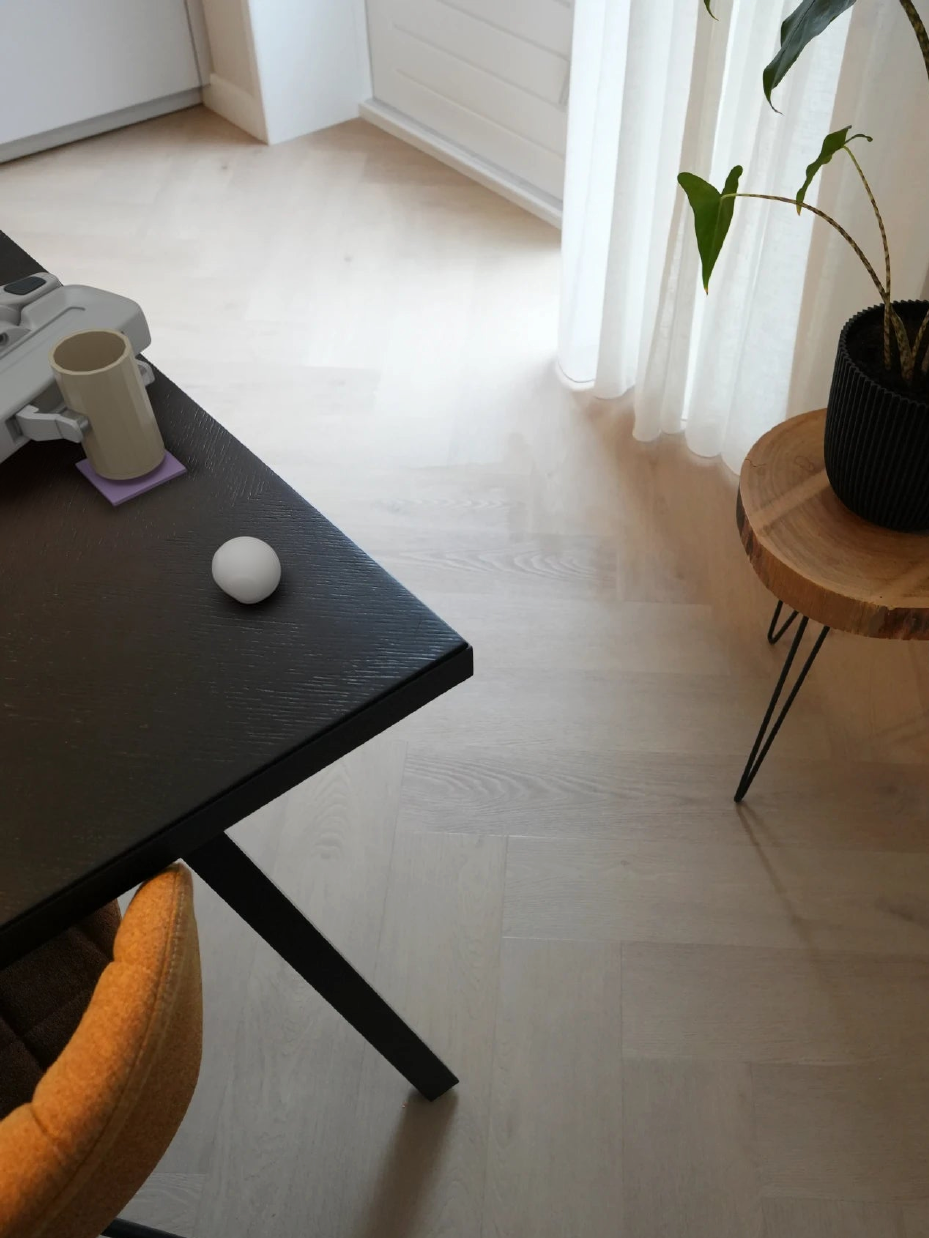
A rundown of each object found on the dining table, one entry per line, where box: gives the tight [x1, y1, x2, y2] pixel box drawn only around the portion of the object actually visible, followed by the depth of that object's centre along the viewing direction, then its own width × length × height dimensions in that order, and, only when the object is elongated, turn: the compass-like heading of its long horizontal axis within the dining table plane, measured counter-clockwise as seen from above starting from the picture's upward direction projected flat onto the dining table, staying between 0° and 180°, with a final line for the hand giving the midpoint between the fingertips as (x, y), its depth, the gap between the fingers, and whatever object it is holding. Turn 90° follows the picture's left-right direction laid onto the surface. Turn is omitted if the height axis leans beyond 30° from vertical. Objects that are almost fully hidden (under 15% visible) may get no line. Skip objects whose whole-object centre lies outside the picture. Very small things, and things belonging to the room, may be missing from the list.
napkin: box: [75, 448, 188, 507], centre depth 94 cm, size 7×7×1 cm
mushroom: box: [211, 536, 282, 605], centre depth 83 cm, size 5×5×5 cm
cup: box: [48, 328, 166, 480], centre depth 90 cm, size 6×6×10 cm
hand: (116, 403), depth 89 cm, fingers closed on cup, 6 cm apart
